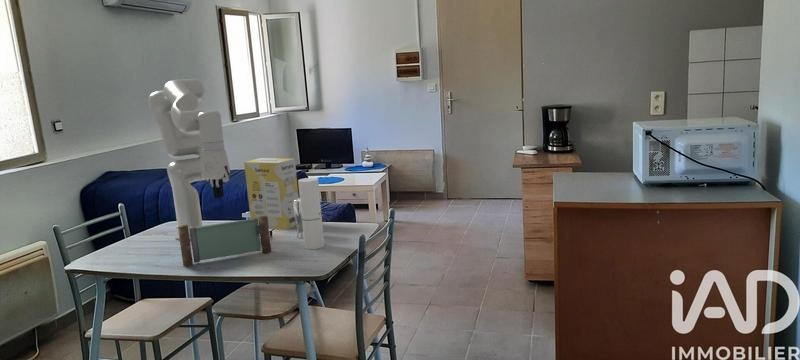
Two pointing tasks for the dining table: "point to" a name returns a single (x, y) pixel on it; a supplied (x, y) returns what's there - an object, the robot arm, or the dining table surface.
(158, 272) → the dining table surface
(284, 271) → the dining table surface
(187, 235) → the hinge post
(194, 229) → the gate
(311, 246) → the cylindrical container
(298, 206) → the beer glass
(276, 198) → the pasta box
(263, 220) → the post
